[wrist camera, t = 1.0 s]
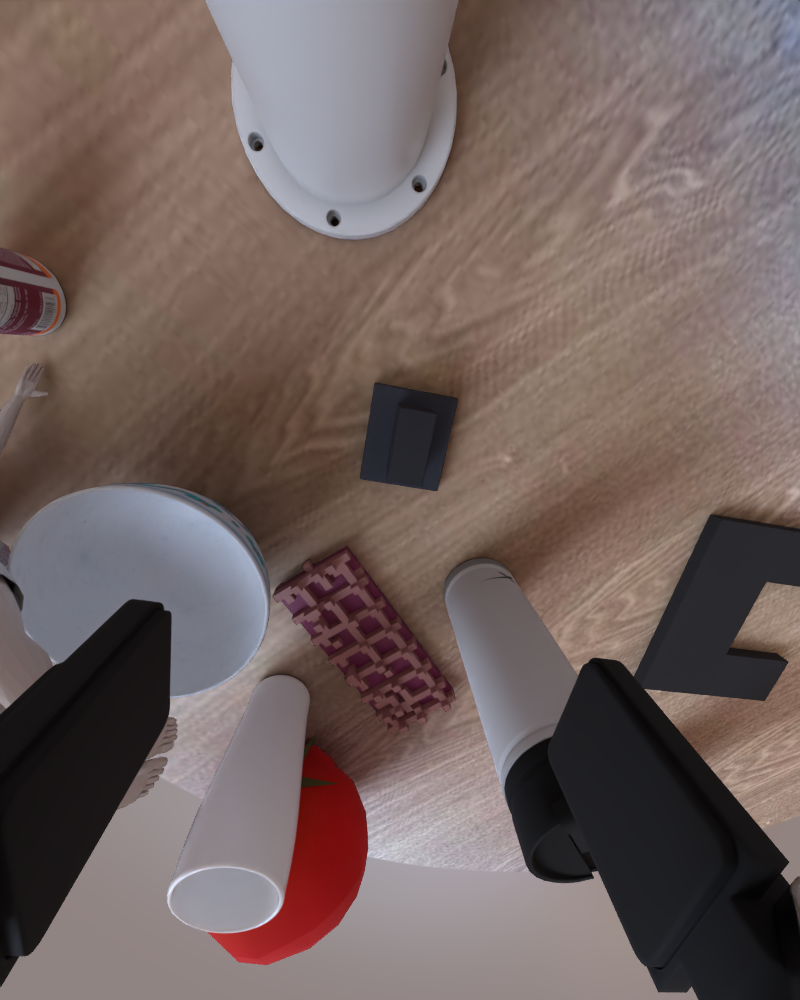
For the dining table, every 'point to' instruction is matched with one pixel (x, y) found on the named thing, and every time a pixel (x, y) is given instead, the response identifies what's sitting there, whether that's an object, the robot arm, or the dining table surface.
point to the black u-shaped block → (721, 612)
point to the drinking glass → (247, 818)
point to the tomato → (313, 867)
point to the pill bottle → (28, 296)
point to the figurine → (18, 658)
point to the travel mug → (519, 710)
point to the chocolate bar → (366, 640)
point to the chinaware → (145, 576)
